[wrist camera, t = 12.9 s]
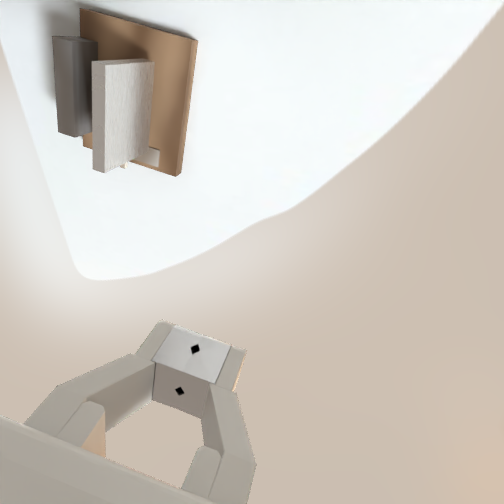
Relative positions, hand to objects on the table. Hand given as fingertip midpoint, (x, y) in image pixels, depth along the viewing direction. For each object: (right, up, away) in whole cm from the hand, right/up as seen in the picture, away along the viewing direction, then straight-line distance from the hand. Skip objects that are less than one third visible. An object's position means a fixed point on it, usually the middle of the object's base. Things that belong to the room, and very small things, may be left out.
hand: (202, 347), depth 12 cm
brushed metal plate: (-11, +18, +27) cm, 35 cm away
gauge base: (-11, +20, +28) cm, 36 cm away
